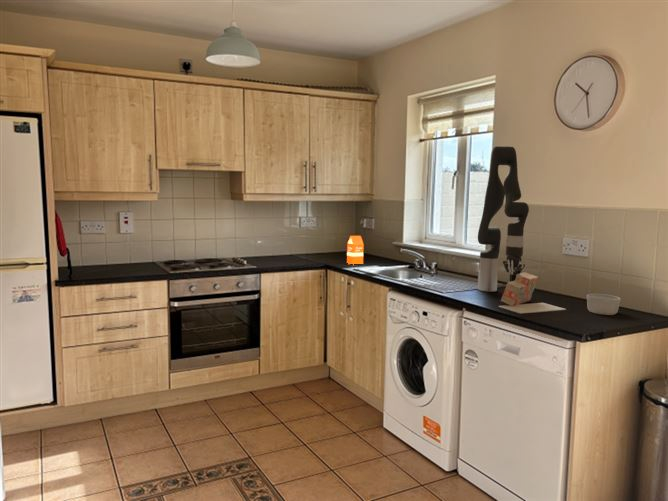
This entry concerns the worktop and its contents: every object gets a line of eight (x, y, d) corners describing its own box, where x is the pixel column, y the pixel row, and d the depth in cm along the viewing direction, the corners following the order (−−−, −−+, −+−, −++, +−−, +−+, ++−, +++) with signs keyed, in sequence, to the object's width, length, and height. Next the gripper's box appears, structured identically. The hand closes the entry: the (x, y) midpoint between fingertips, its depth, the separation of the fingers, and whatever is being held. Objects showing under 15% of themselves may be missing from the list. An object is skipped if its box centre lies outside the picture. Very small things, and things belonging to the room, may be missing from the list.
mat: (498, 306, 236) (498, 305, 236) (542, 303, 245) (542, 302, 245) (520, 313, 223) (520, 312, 223) (565, 309, 232) (566, 309, 232)
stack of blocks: (513, 306, 234) (522, 281, 231) (500, 301, 238) (509, 275, 235) (530, 300, 251) (538, 276, 248) (517, 295, 254) (526, 271, 251)
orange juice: (363, 264, 370) (363, 236, 368) (352, 265, 366) (353, 236, 364) (357, 263, 377) (357, 235, 375) (346, 263, 373) (347, 235, 370)
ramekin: (623, 312, 230) (624, 296, 229) (614, 317, 220) (616, 300, 220) (590, 307, 239) (591, 292, 238) (581, 312, 229) (582, 296, 228)
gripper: (498, 244, 249) (496, 280, 251) (517, 247, 237) (515, 285, 239) (511, 243, 252) (509, 279, 254) (531, 246, 239) (529, 284, 241)
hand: (512, 282), depth 246 cm, fingers closed
